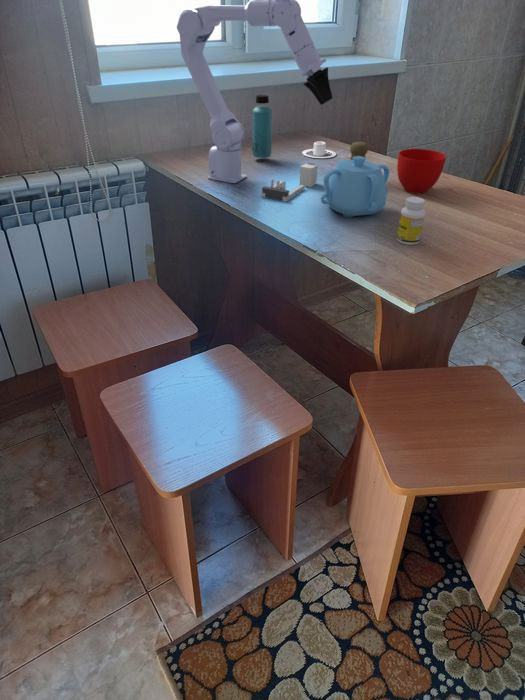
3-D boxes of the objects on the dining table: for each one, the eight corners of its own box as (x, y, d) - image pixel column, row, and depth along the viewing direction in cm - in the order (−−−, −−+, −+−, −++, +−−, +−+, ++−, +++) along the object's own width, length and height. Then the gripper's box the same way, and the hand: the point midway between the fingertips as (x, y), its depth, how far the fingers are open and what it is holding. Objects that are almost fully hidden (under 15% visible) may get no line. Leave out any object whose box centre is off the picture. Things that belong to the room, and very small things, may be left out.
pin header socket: (261, 196, 143) (261, 180, 140) (279, 185, 151) (280, 169, 149) (286, 201, 140) (287, 185, 137) (304, 189, 149) (305, 173, 146)
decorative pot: (311, 213, 133) (315, 159, 125) (336, 196, 144) (341, 145, 136) (371, 226, 126) (379, 170, 119) (392, 207, 138) (400, 154, 130)
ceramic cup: (452, 187, 152) (460, 152, 147) (424, 200, 142) (432, 163, 137) (413, 177, 160) (419, 144, 154) (384, 189, 149) (390, 154, 144)
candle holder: (303, 150, 186) (304, 137, 183) (336, 151, 185) (337, 139, 182) (300, 159, 176) (301, 146, 174) (335, 161, 175) (336, 147, 172)
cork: (364, 184, 154) (369, 145, 147) (344, 182, 155) (348, 144, 148) (365, 178, 158) (370, 140, 152) (346, 176, 159) (350, 139, 153)
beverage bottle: (274, 159, 174) (276, 94, 162) (264, 164, 169) (265, 97, 158) (258, 156, 177) (259, 92, 165) (248, 160, 172) (248, 95, 161)
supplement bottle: (393, 236, 121) (400, 195, 116) (415, 236, 122) (423, 195, 116) (400, 245, 117) (407, 203, 111) (423, 245, 117) (432, 203, 112)
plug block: (299, 185, 152) (300, 165, 148) (305, 181, 155) (306, 162, 152) (310, 187, 150) (311, 167, 147) (316, 183, 154) (317, 163, 150)
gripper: (320, 35, 122) (345, 90, 127) (314, 46, 135) (336, 96, 140) (294, 51, 123) (319, 106, 128) (290, 60, 137) (313, 109, 141)
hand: (326, 101), depth 134 cm, fingers open, 7 cm apart
